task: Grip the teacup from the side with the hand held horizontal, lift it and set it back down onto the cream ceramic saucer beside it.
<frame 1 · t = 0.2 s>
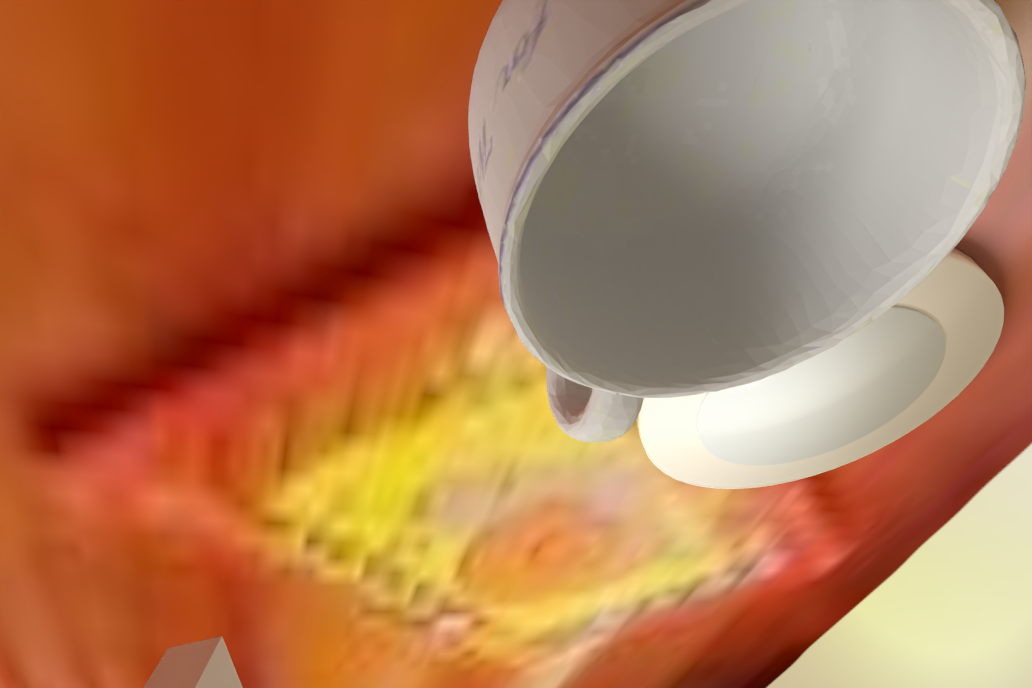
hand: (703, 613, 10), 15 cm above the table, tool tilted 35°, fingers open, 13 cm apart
saucer: (807, 375, 33), on the table
teacup: (613, 101, 21), on the table
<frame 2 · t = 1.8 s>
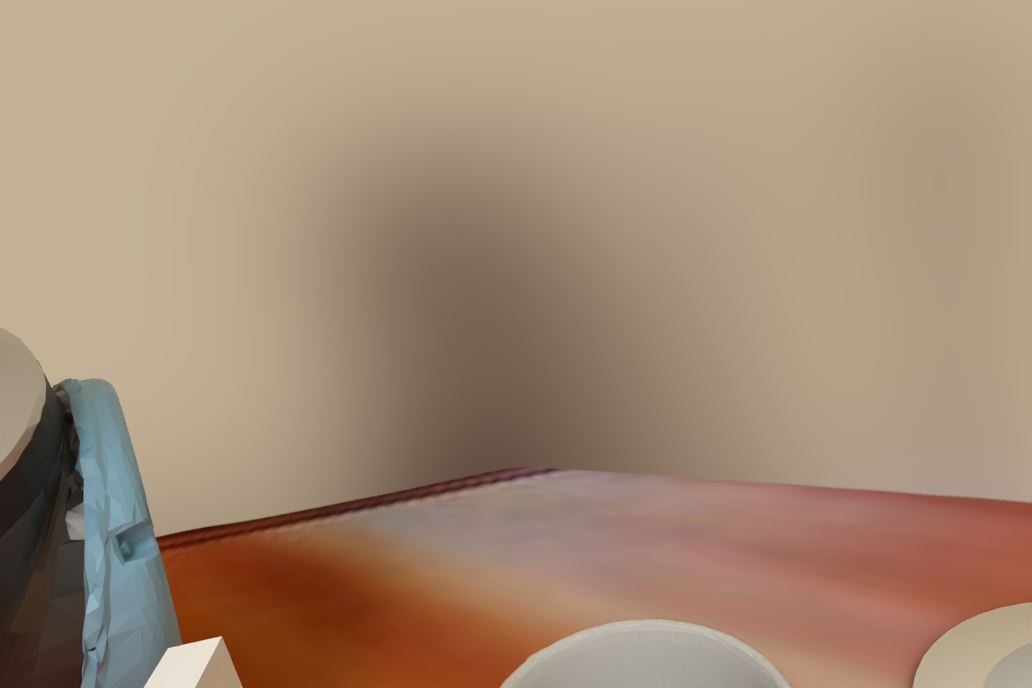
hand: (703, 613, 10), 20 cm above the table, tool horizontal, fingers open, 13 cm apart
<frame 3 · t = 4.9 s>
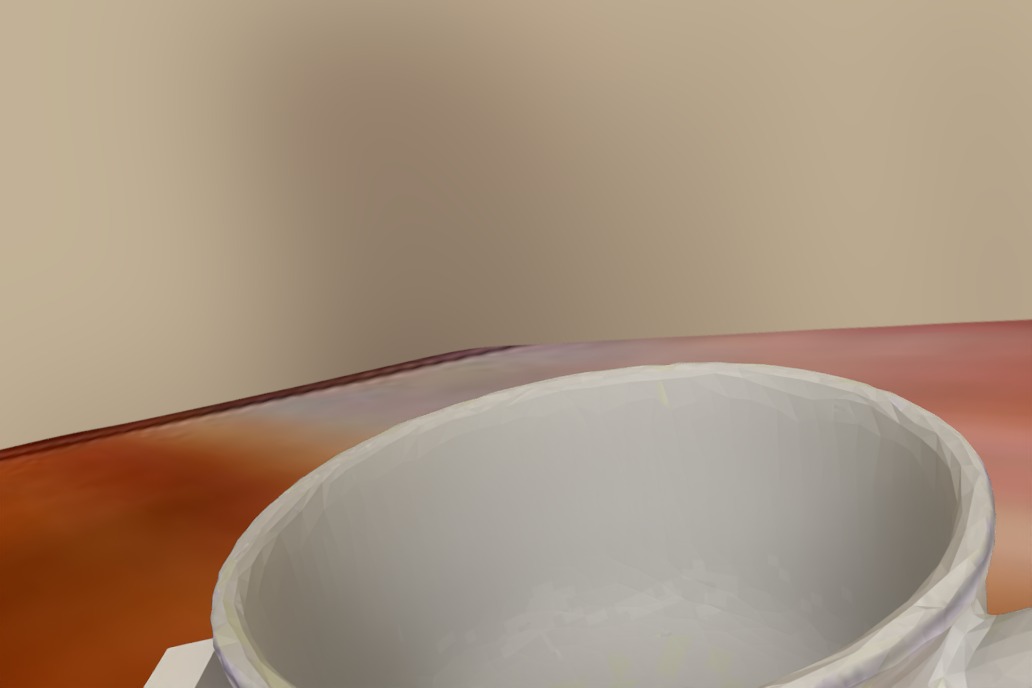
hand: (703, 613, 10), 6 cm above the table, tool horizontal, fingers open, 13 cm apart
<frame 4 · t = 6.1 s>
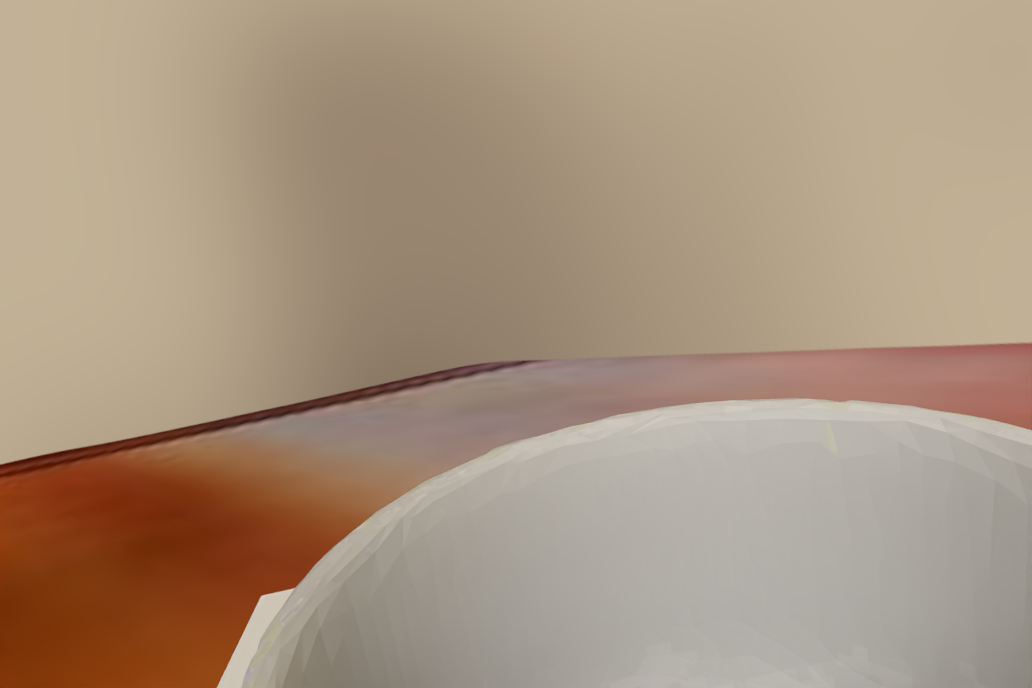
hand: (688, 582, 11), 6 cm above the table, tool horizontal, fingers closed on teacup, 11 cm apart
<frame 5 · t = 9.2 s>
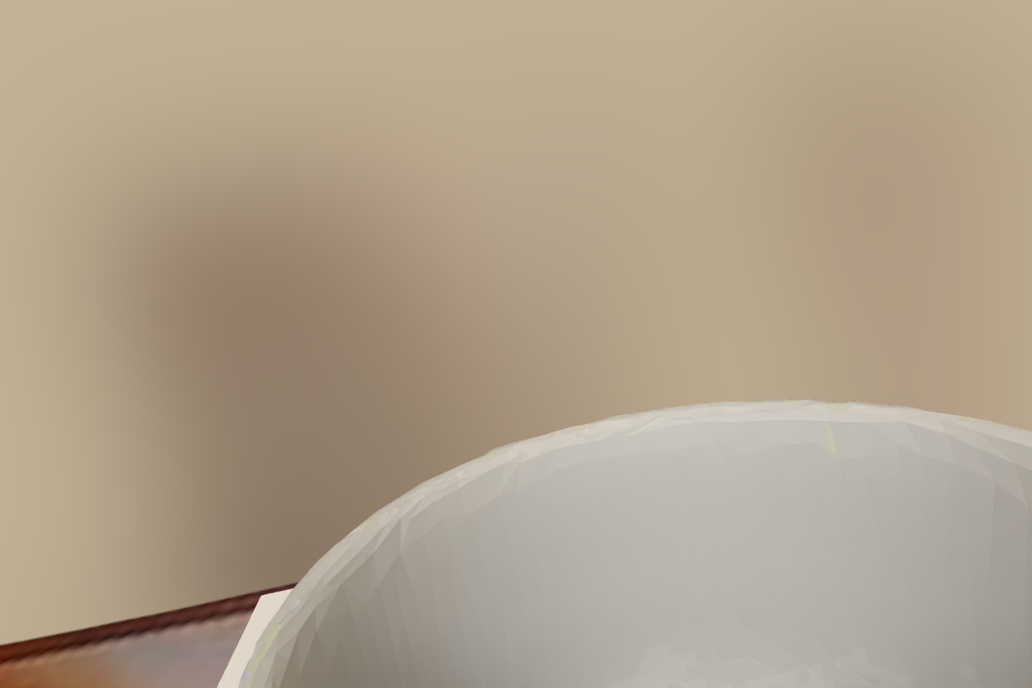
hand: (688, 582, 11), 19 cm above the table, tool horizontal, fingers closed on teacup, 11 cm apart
when the fingers open (8 cm above the table, at t = 12.2 s): teacup drops 1 cm, resting on saucer.
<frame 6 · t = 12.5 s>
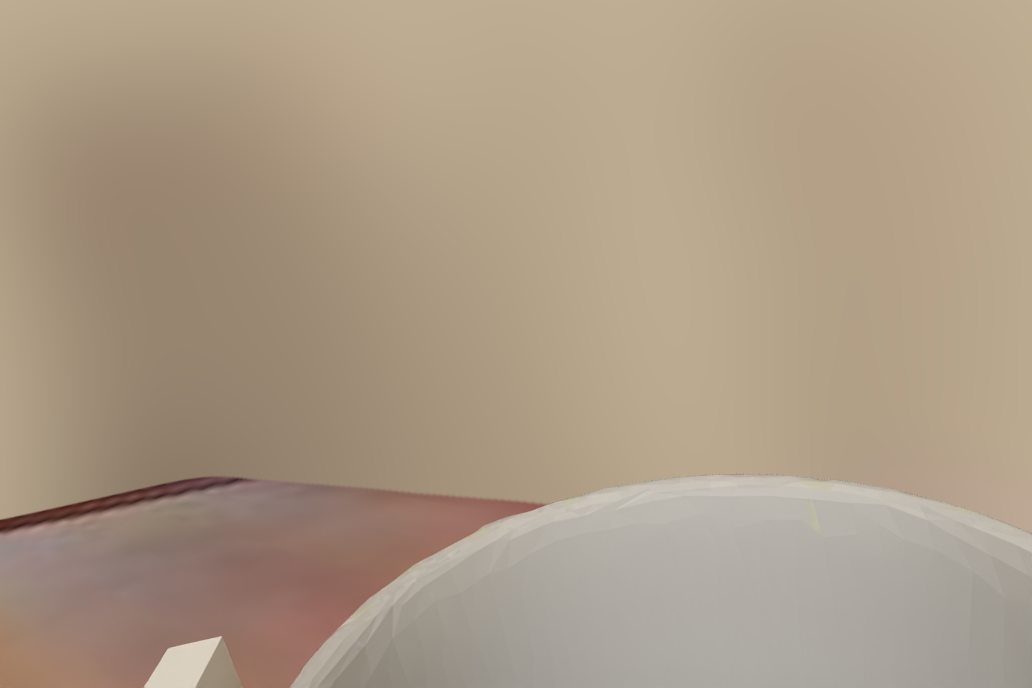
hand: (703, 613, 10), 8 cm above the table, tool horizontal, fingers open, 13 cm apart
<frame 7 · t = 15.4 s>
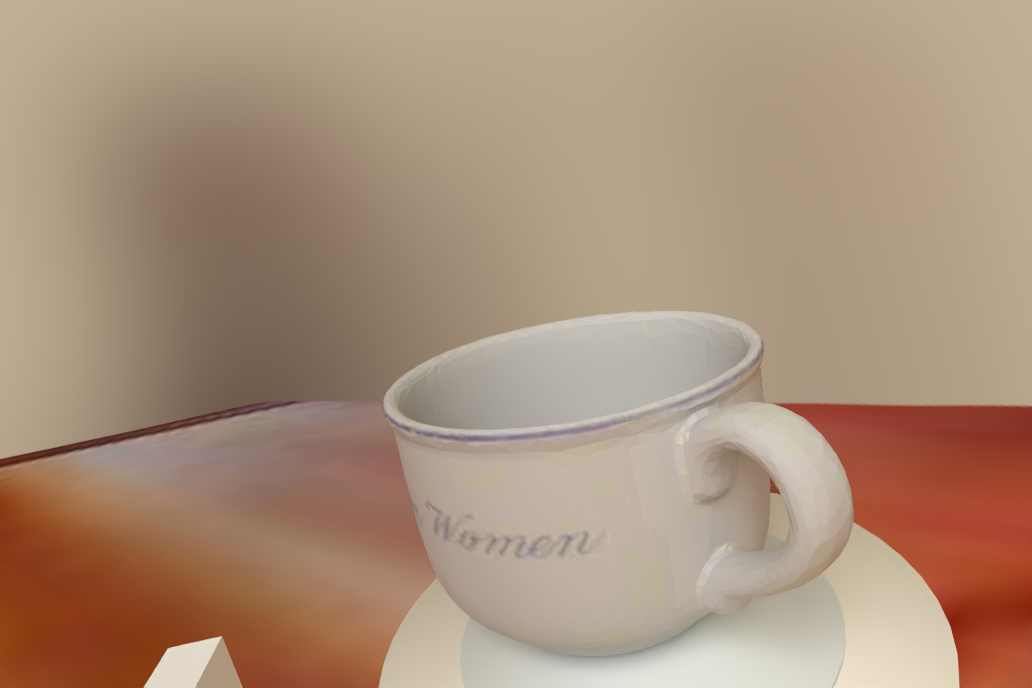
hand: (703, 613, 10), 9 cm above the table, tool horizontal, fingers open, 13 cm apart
saucer: (648, 648, 22), on the table
teacup: (641, 615, 22), point 1 cm above the table, touching saucer
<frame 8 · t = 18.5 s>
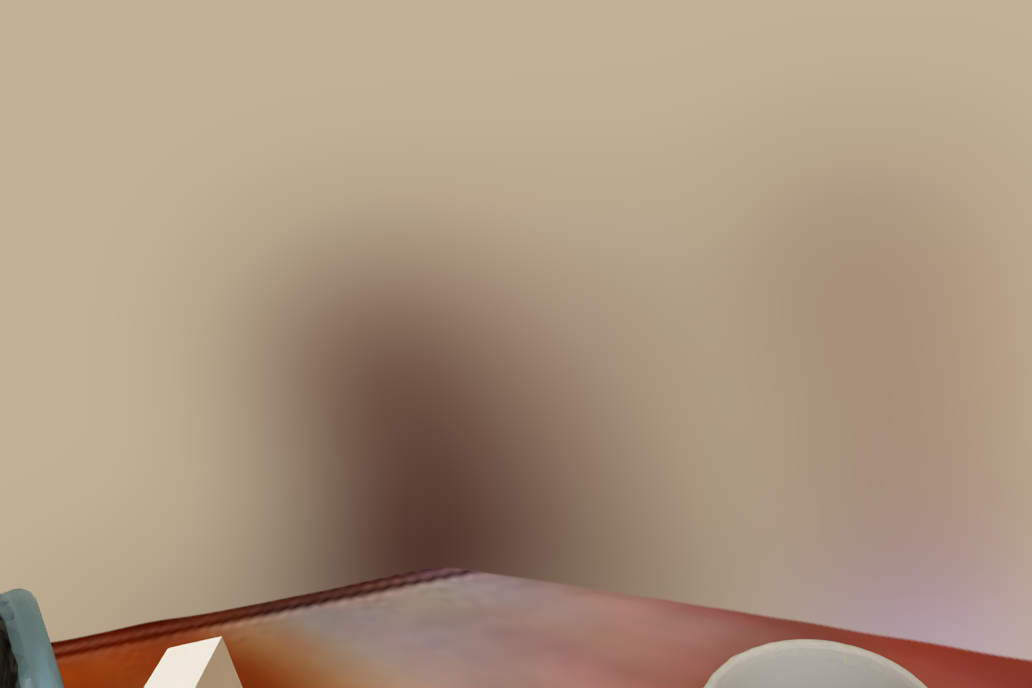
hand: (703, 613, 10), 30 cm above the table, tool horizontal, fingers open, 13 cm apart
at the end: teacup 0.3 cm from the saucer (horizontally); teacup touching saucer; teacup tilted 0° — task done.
